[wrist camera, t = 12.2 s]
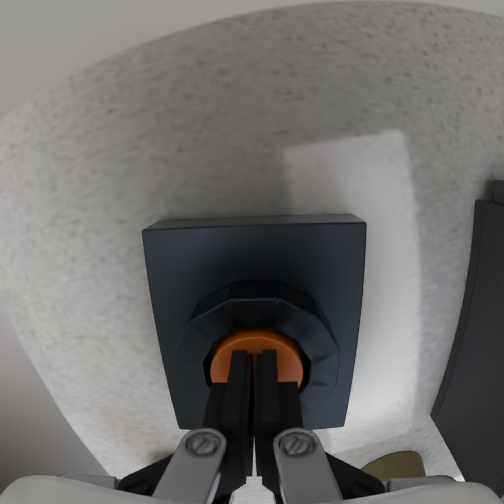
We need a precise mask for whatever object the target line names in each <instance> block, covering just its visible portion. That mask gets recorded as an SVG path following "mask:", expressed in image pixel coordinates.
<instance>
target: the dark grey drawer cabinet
mask: <svg viewBox="0 0 504 504" xmlns="http://www.w3.org/2000/svg"><path fill="white" fill-rule="evenodd" d="M430 416H431V418H432V419H433V421H434V422H435V425H436V427H437V428H438V430H439V432H440V434H441V436H442V437H443V439H444V441H445V443H446V445H447V447H448V448H449V450H450V452H451V454H452V456H453V458H454V460H455V462H456V464H457V466H458V468H459V469H460V471H461V473H462V475H463V477H464V479H465V481H466V482H474V483H480V484H483V485H485V486H487V487H489V488H490V489H491V490H492V491H493V492H494V493H495V494H496V495H497V496H498V497H499V499H500V500H501V501H502V503H503V504H504V205H500V204H496V203H494V202H493V201H481V200H476V204H475V220H474V232H473V242H472V250H471V258H470V266H469V272H468V279H467V285H466V290H465V296H464V301H463V306H462V311H461V315H460V320H459V324H458V328H457V332H456V336H455V340H454V344H453V348H452V352H451V355H450V359H449V362H448V365H447V369H446V372H445V375H444V378H443V381H442V384H441V387H440V390H439V393H438V396H437V399H436V402H435V404H434V407H433V410H432V412H431V415H430Z"/></svg>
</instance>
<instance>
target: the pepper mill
mask: <svg viewBox="0 0 504 504" xmlns="http://www.w3.org/2000/svg"><path fill="white" fill-rule="evenodd" d="M361 471H364V472H366V473H368V474H370V475H372V476H374V477H376V478H377V479H379V480H380V481H388V480H389V478H411V477H425V476H426V475H425V470H424V466H423V462H422V458H421V457H420V455H419V454H418V453H415V452H412V451H402V452H398V453H393V454H390V455H387V456H384V457H381V458H379V459H377V460H375V461H373V462H371V463H369V464H368V465H366V466H365V467H364V468H362V469H361Z"/></svg>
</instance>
